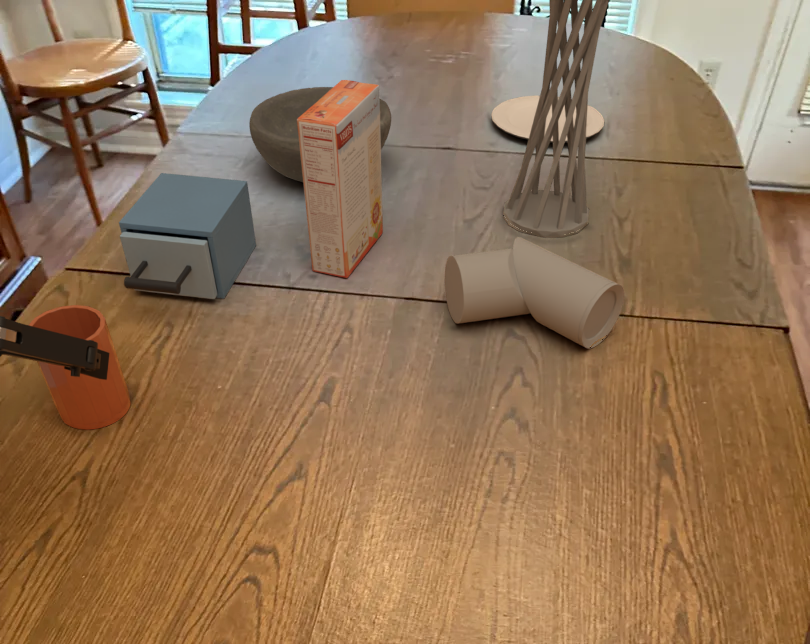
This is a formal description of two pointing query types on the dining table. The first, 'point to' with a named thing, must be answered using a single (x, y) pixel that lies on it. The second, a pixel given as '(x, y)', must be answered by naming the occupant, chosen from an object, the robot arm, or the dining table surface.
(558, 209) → the vase
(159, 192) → the blue-grey drawer box
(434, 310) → the dining table surface
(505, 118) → the plate
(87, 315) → the clay cup
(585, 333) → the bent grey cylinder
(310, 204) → the cracker box
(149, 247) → the drawer
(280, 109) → the bowl
